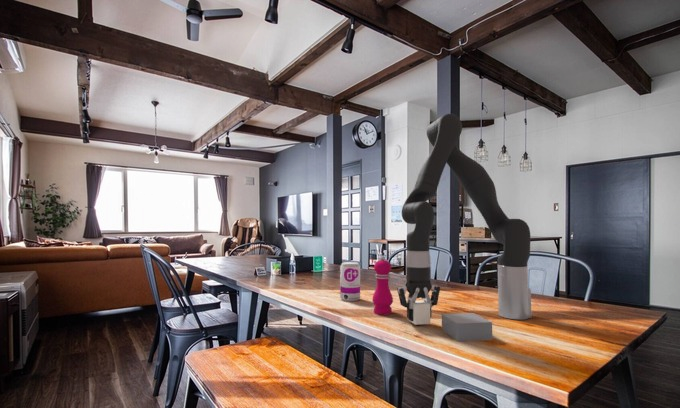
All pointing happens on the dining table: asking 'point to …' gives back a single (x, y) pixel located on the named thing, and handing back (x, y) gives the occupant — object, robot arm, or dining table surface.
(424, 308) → the cream block
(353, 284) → the supplement can
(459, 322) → the slate base
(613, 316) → the dining table surface
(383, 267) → the pepper mill
